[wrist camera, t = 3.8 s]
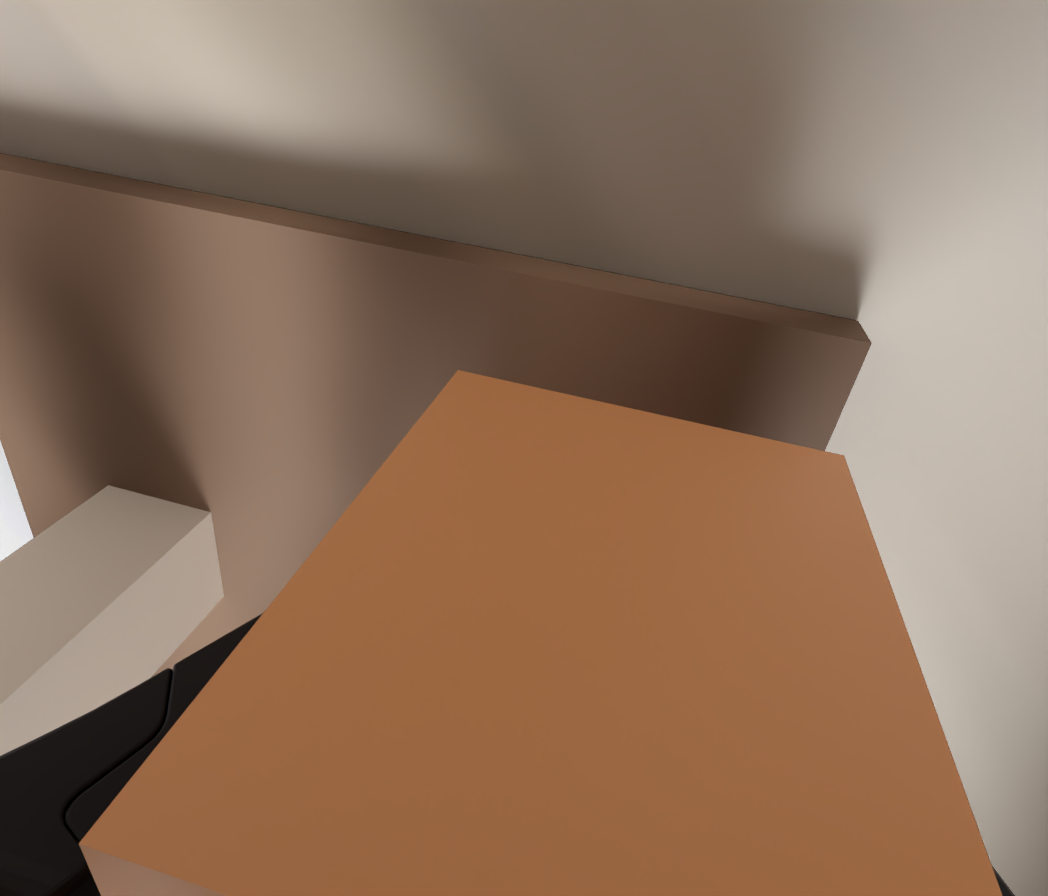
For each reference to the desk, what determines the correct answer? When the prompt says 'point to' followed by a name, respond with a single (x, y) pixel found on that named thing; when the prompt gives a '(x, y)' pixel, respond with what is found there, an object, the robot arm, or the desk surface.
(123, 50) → the desk surface
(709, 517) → the peach wooden cube
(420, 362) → the walnut board
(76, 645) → the white post
